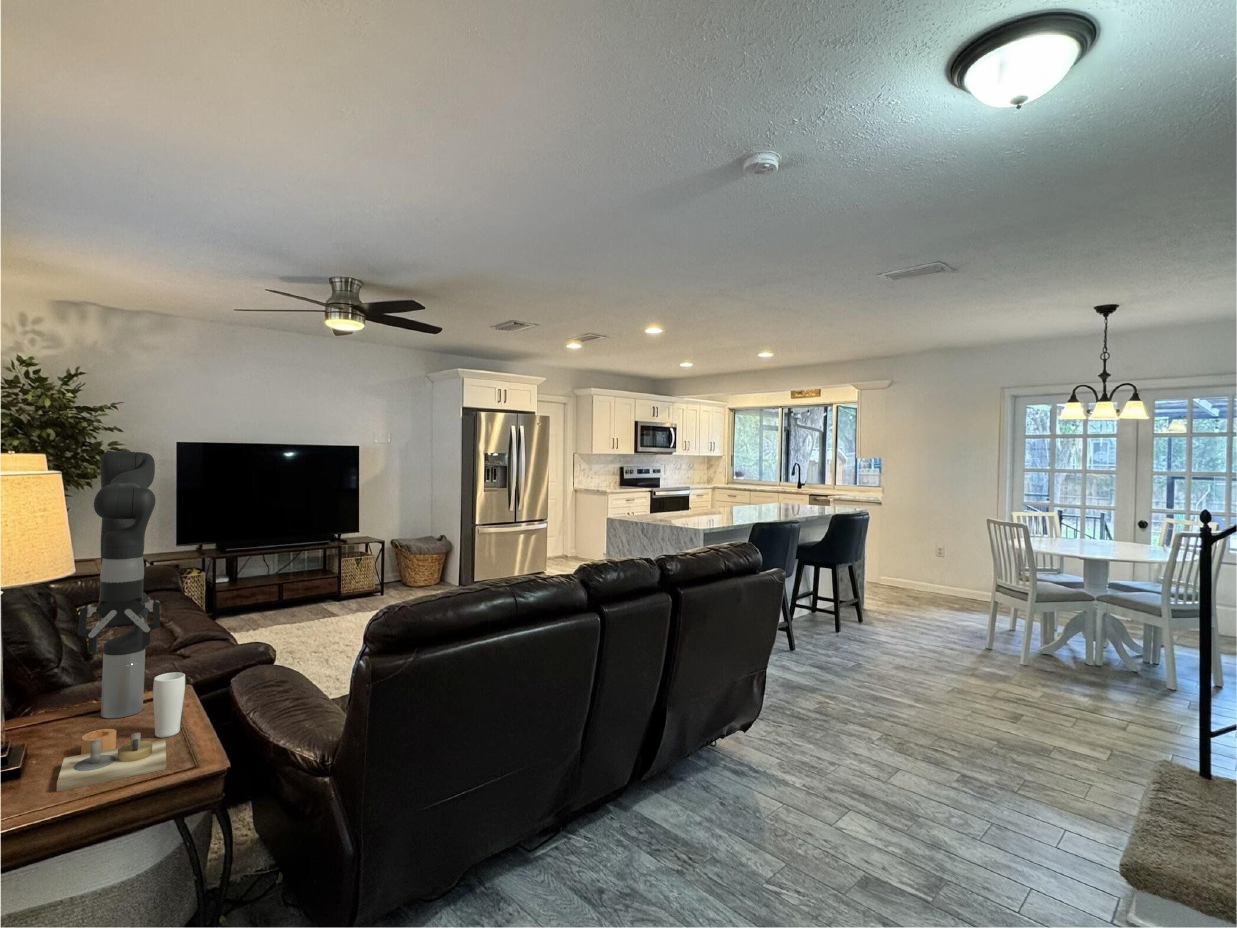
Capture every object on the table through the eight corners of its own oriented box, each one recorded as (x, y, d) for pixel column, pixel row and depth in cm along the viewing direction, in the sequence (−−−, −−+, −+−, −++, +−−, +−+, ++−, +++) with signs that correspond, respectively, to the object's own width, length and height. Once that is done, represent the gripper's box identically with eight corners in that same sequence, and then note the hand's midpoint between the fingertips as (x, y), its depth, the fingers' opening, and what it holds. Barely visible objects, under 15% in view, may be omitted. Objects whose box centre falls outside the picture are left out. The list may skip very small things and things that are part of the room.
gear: (82, 748, 153) (83, 732, 153) (116, 742, 157) (116, 726, 157) (80, 759, 148) (80, 742, 148) (114, 752, 152) (115, 736, 152)
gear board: (63, 766, 145) (65, 736, 145) (165, 747, 156) (166, 719, 156) (56, 791, 134) (57, 759, 134) (165, 769, 146) (167, 739, 146)
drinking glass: (164, 727, 167) (166, 671, 167) (189, 729, 166) (191, 672, 166) (144, 738, 160) (146, 680, 160) (170, 740, 160) (172, 681, 160)
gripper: (162, 572, 146) (159, 642, 146) (81, 576, 137) (78, 650, 137) (162, 578, 140) (159, 650, 140) (78, 583, 131) (75, 660, 131)
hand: (119, 650), depth 139 cm, fingers open, 8 cm apart
